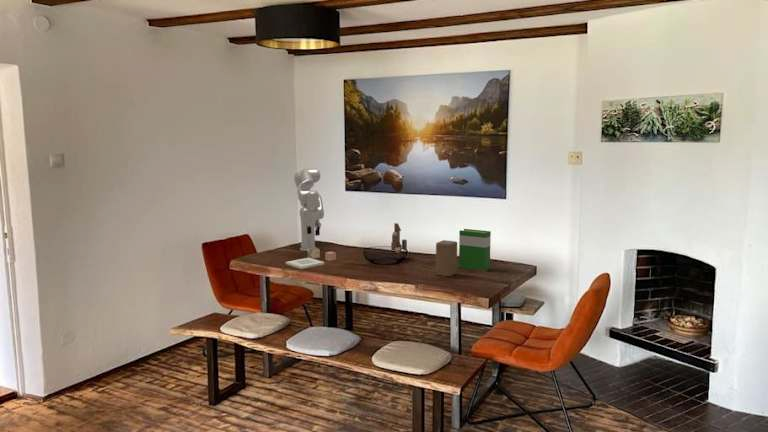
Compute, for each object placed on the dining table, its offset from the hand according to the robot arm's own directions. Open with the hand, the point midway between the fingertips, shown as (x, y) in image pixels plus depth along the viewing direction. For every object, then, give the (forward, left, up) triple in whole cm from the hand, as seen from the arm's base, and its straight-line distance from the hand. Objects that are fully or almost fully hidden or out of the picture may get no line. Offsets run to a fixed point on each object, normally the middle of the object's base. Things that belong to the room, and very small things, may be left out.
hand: (313, 234), depth 384 cm
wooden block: (+94, +31, -16) cm, 100 cm away
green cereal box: (+96, +55, -16) cm, 112 cm away
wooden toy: (+46, +37, -16) cm, 61 cm away
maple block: (0, 0, -16) cm, 16 cm away
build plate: (+13, -16, -16) cm, 26 cm away
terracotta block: (+14, +4, -16) cm, 22 cm away
